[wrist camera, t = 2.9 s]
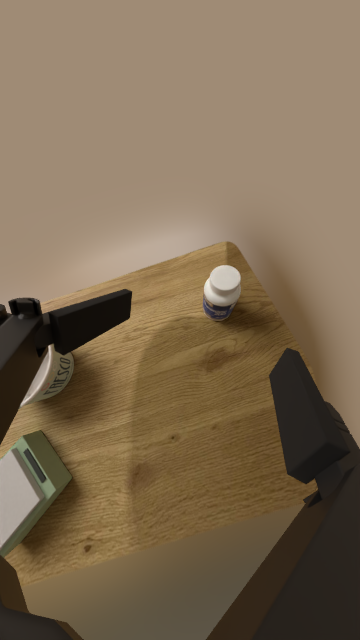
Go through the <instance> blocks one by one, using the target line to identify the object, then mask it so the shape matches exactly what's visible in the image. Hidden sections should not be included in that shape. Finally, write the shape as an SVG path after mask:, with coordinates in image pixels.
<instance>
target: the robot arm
mask: <svg viewBox="0 0 360 640" xmlns="http://www.w3.org/2000/svg"><path fill="white" fill-rule="evenodd" d="M131 299H132V291H129V290H127V289H123V290H120V291H117V292H113V293H110V294H107V295H104V296H100V297H97V298H94V299H90V300H87V301H84V302H81V303H77V304H73V305H70V306H67V307H64V308H60V309H57V310H53V311H50V312H47V313H44V314H42V311H41V305H40V301H39V300H37V299H34V298H17V299H13V300H11V301H9V306H10V309H11V313H12V314H10V313H7V311H6V308H5V306H4V305H2V304H0V445H1V443H2V441H3V439H4V437H5V435H6V433H7V431H8V429H9V427H10V425H11V423H12V421H13V419H14V417H15V415H16V413H17V411H18V409H19V407H20V405H21V403H22V402H23V400H24V398H25V396H26V394H27V392H28V390H29V388H30V386H31V384H32V382H33V380H34V378H35V376H36V374H37V372H38V370H39V368H40V366H41V364H42V362H43V361H44V359H45V357H46V355H47V353H48V350H49V347H48V346H49V345H51V344H54V349H55V351H56V352H58V353H60V354H61V355H63V356H64V355H66V354H68V353H70V352H71V351H73V350H75V349H77V348H78V347H80V346H82V345H84V344H85V343H87V342H89V341H91V340H92V339H94V338H96V337H98V336H99V335H101V334H103V333H105V332H106V331H108V330H110V329H112V328H113V327H115V326H117V325H119V324H121V323H122V322H124V321H126V320H128V319H129V318H130V311H131ZM269 377H270V383H271V388H272V394H273V399H274V404H275V410H276V415H277V421H278V426H279V432H280V437H281V443H282V448H283V454H284V459H285V464H286V470H287V474H288V475H290V476H292V477H294V478H295V479H297V480H299V481H301V482H303V483H305V484H307V483H309V482H310V481H311V480H313V479H314V478H315V480H316V483H317V486H318V490H317V491H316V492H314V493H313V494H311V495H310V496H308V497H307V498H305V499H303V501H304V502H305V503H306V504H305V505H304V507H303V508H302V509H301V511H300V512H299V513H298V515H297V516H296V517H295V519H294V520H293V522H292V523H291V524H290V526H289V527H288V528H287V530H286V531H285V532H284V534H283V535H282V537H281V538H280V539H279V541H278V542H277V544H276V545H275V546H274V547H273V549H272V550H271V552H270V553H269V554H268V556H267V557H266V558H265V560H264V561H263V562H262V564H261V565H260V567H259V568H258V569H257V571H256V572H255V573H254V575H253V576H252V578H251V579H250V580H249V582H248V583H247V584H246V586H245V587H244V588H243V590H242V591H241V593H240V594H239V595H238V597H237V598H236V599H235V601H234V602H233V603H232V605H231V606H230V607H229V609H228V610H227V612H226V613H225V614H224V616H223V617H222V619H221V620H220V621H219V622H218V624H217V625H216V627H215V628H214V629H213V631H212V632H211V633H210V635H209V636H208V638H207V639H206V640H360V449H359V447H358V446H357V444H356V442H355V440H354V439H353V437H352V435H351V434H350V432H349V430H348V428H347V426H346V425H345V423H344V421H343V420H342V418H341V416H340V414H339V413H338V412H337V411H336V410H335V408H333V406H332V405H331V404H330V403H328V402H325V401H324V400H323V398H322V396H321V394H320V392H319V390H318V388H317V386H316V384H315V382H314V381H313V379H312V377H311V375H310V373H309V371H308V369H307V367H306V365H305V363H304V361H303V359H302V358H301V356H300V354H299V352H298V351H295V350H292V349H289V348H286V350H285V351H284V353H283V355H282V356H281V358H280V359H279V361H278V362H277V364H276V365H275V367H274V368H273V370H272V371H271V373H270V375H269ZM0 640H83V639H82V638H81V637H80V636H79V635H78V634H77V633H76V632H75V630H74V629H73V628H71V627H70V625H69V624H68V623H66V622H62V621H58V620H54V619H50V618H46V617H41V616H37V615H33V614H31V613H29V611H28V609H27V606H26V602H25V599H24V596H23V593H22V589H21V586H20V583H19V579H18V576H17V573H16V570H15V569H14V568H13V567H12V566H11V565H10V564H9V563H8V562H7V561H6V560H5V559H4V558H3V557H2V556H1V555H0Z"/></svg>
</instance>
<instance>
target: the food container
mask: <svg viewBox="0 0 360 640" xmlns="http://www.w3.org/2000/svg"><path fill="white" fill-rule="evenodd" d="M48 347H49V350H48V353H47V355H46V357H45V359H44V361H43V362H42V364H41V366H40V368H39V370H38V372H37V374H36V376H35V378H34V380H33V382H32V384H31V386H30V388H29V390H28V392H27V394H26V396H25V398H24V400H23V402H22V403H21V405H20V407H19V409H20V408H21V407H23V406H24V405H28V404H31V403H34V402H37V401H40V400H44V399H47V398H50V397H52V396H54V395H56V394H58V393H59V392H60V391H61V390H63V388H64V387H65V386H66V385H67V384H68V382H69V380H70V378H71V376H72V374H73V370H74V360H73V356H72V354H71V352H70V353H68V354H66V355H64V356H63V355H61V354H60V353H58V352H56V351H55V349H54V344H51V345H49V346H48Z"/></svg>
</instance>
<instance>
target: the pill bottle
mask: <svg viewBox="0 0 360 640" xmlns="http://www.w3.org/2000/svg"><path fill="white" fill-rule="evenodd" d="M240 279H241V277H240V273H239V272H238V271H237V270H236V269H235V268H234V267H231V266H227V265H223V266H219V267H217V268H215V269H214V270H213V271H212V273H211V275H210V278H209V279H208V280H207V281H206V283H205V286H204V298H203V311H204V313H205V315H206V316H207V317H208V318H210V319H212V320H215V321H221V320H224V319H226V318H227V317H229V315H230V314H231V312H232V310H233V308H234V306H235V304H236V302H237V300H238V298H239V296H240V293H241V286H240Z"/></svg>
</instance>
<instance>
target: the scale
mask: <svg viewBox="0 0 360 640" xmlns="http://www.w3.org/2000/svg"><path fill="white" fill-rule="evenodd" d="M71 479H72V476H71V474H70V473H69V472H68V470H67V469H66V467H65V466H64V464H63V463H62V461H61V460H60V458H59V457H58V455H57V454H56V452H55V451H54V449H53V448H52V446H51V445H50V443H49V442H48V440H47V439H46V437H45V436H44V435H43V433H42V432H41V430H40V431H37V432H33V433H30V434H27V435H23V436H22V437H21V438H20V439H19V440H18V441H17V442H16V443H15V444H14V445H13V446H12V447H11V448H10V450H9V451H8V452H7V453H6V454H5V455H4V456H3V457H2V458H1V459H0V555H1V556H2V557H3V558H4V557H5V556H6V555H7V554H8V553H10V552H11V551H12V550H13V549H14V548H15V547H16V546H17V545H18V544H20V543H21V541H22V540H23V539H24V538H25V536H26V535H27V534H28V533H29V531H30V530H31V529H32V528H33V526H34V525H35V524H36V523H37V521H38V520H39V519H40V518H41V516H42V515H43V514H44V513H45V511H46V510H47V509H48V508H49V506H50V505H51V504H52V503H53V501H54V500H55V499H56V498H57V496H58V495H59V494H60V493H61V491H62V490H63V489H64V488H65V486H66V485H67V484H68V483H69V482H70V480H71Z"/></svg>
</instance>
